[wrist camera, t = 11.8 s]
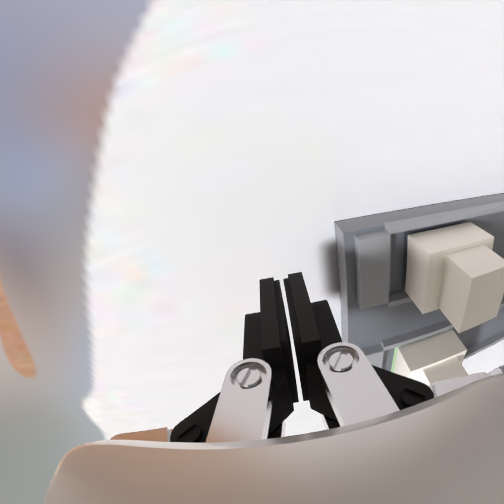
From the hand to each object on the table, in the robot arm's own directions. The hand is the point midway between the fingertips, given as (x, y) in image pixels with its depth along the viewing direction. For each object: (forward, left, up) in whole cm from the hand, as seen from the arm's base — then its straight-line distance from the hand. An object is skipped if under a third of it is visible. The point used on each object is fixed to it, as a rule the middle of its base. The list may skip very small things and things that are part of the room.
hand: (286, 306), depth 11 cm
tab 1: (-8, 0, -1) cm, 8 cm away
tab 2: (-8, +7, -1) cm, 11 cm away
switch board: (-15, +4, -3) cm, 15 cm away
